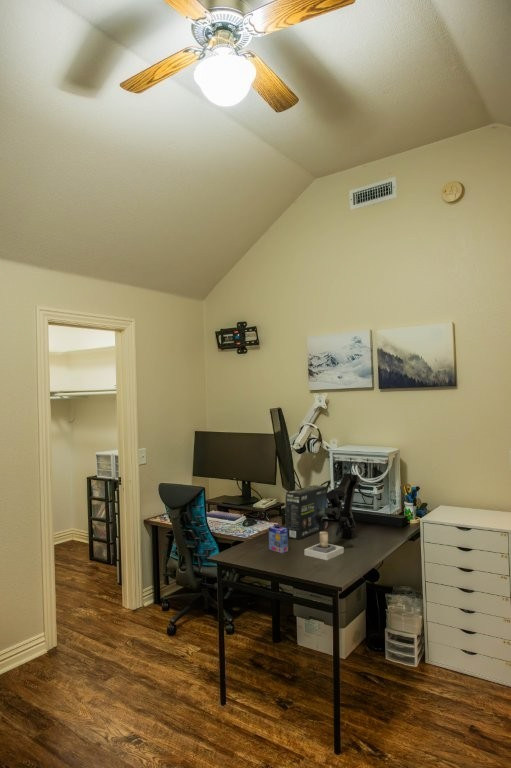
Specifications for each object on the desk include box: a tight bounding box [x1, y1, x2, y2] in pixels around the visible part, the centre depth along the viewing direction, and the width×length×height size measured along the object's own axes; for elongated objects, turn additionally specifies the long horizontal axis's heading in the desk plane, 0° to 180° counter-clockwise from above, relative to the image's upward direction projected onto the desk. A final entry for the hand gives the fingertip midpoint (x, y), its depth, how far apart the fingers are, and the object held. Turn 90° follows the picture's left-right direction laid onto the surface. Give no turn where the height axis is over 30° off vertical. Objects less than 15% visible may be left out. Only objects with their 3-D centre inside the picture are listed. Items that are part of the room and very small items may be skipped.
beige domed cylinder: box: [319, 531, 329, 549], centre depth 252 cm, size 4×4×10 cm
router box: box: [284, 484, 329, 540], centre depth 297 cm, size 36×11×27 cm, turn 144°
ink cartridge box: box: [268, 523, 289, 554], centre depth 260 cm, size 10×6×14 cm, turn 45°
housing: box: [304, 542, 345, 561], centre depth 252 cm, size 14×16×4 cm
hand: (328, 534), depth 258 cm, fingers open, 9 cm apart
